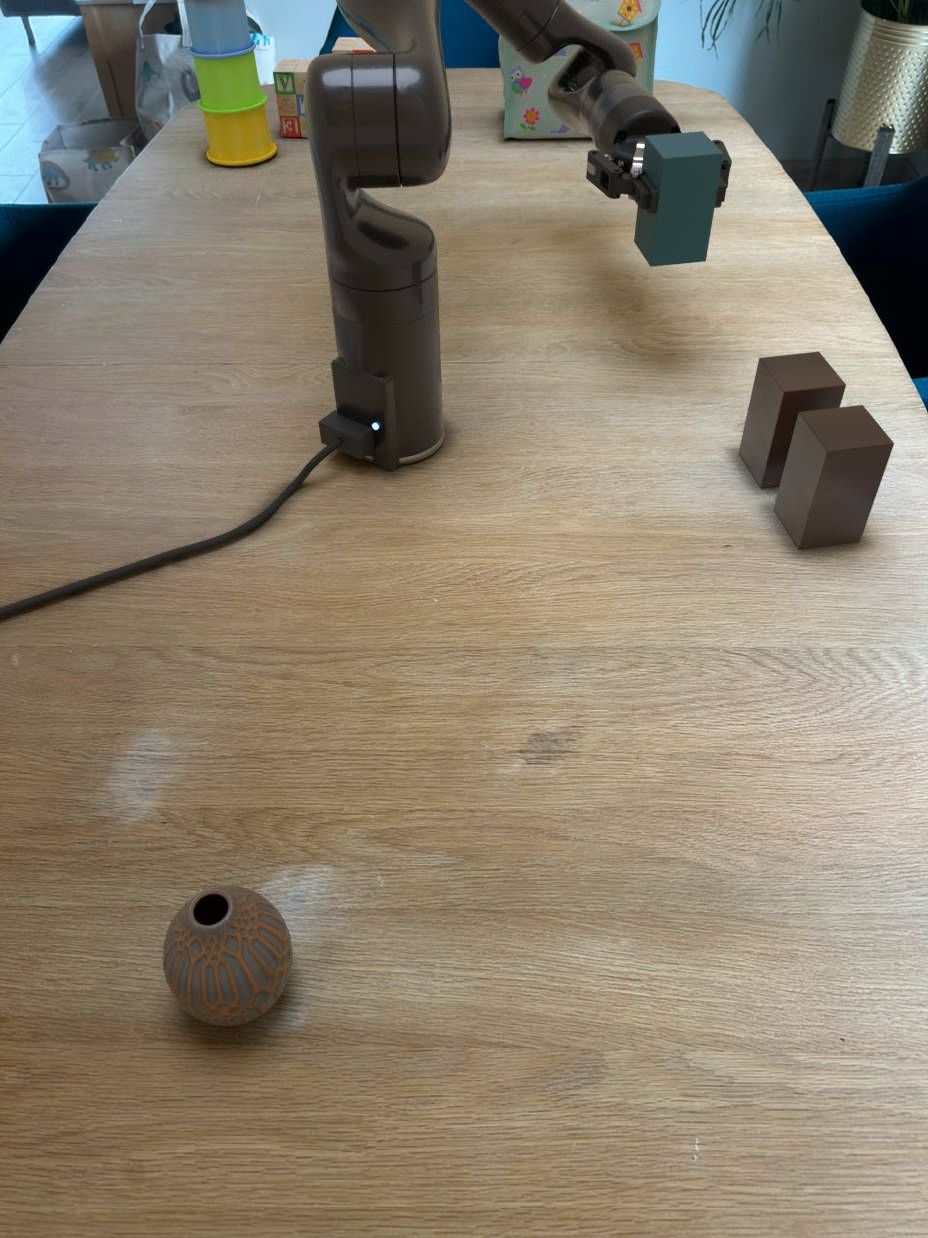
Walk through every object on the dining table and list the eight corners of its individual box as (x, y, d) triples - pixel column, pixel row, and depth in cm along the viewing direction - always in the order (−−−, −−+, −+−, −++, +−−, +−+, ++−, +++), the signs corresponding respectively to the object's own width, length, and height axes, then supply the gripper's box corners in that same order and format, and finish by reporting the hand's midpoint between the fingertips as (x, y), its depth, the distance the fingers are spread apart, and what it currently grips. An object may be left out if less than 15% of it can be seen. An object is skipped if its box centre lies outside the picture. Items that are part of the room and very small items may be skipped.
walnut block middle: (818, 481, 90) (846, 384, 83) (760, 488, 90) (783, 391, 82) (793, 446, 94) (819, 350, 87) (738, 452, 93) (758, 357, 86)
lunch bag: (496, 146, 148) (498, -71, 129) (498, 107, 159) (500, -97, 140) (652, 146, 147) (677, -73, 128) (643, 107, 158) (665, -99, 139)
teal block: (706, 261, 95) (723, 152, 88) (650, 266, 95) (663, 158, 88) (687, 236, 99) (702, 130, 92) (633, 241, 98) (645, 135, 91)
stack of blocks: (280, 137, 152) (268, 47, 143) (289, 123, 156) (278, 34, 147) (420, 140, 150) (416, 49, 141) (425, 125, 154) (421, 36, 146)
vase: (185, 934, 60) (151, 856, 54) (301, 923, 60) (279, 844, 54) (172, 1050, 55) (133, 978, 49) (298, 1037, 56) (274, 965, 49)
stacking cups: (195, 165, 144) (136, -131, 120) (223, 139, 152) (172, -145, 127) (262, 170, 143) (216, -129, 118) (287, 144, 150) (248, -144, 125)
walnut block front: (860, 541, 84) (894, 443, 77) (798, 549, 84) (827, 451, 77) (832, 501, 88) (862, 404, 81) (773, 509, 87) (798, 411, 80)
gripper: (567, 99, 99) (614, 164, 87) (705, 88, 101) (770, 151, 89) (563, 176, 104) (607, 247, 93) (694, 165, 106) (754, 233, 94)
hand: (686, 199), depth 91 cm, fingers closed on teal block, 5 cm apart
